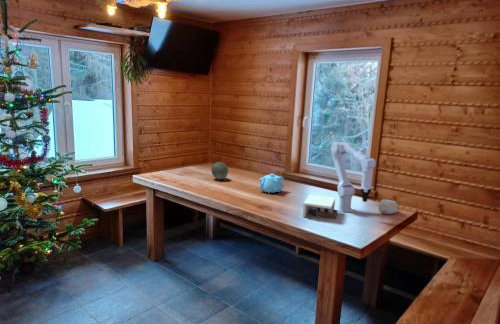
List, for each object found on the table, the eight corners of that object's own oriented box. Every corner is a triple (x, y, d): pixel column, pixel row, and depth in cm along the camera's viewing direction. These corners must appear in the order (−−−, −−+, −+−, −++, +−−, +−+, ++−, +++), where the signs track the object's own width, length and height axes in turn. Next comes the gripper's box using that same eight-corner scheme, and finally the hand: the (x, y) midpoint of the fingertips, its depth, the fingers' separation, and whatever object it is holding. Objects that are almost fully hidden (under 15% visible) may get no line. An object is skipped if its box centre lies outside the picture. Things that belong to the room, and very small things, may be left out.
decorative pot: (267, 187, 271) (268, 170, 268) (286, 191, 262) (287, 173, 259) (256, 191, 257) (257, 174, 255) (275, 195, 248) (276, 177, 246)
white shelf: (308, 207, 224) (309, 194, 222) (334, 211, 218) (335, 198, 217) (302, 217, 205) (303, 202, 203) (330, 221, 200) (331, 206, 198)
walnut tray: (317, 212, 216) (318, 202, 215) (337, 214, 212) (338, 205, 211) (315, 215, 208) (316, 206, 207) (335, 218, 204) (336, 209, 203)
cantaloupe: (229, 178, 296) (230, 161, 293) (224, 182, 282) (225, 164, 280) (214, 177, 299) (214, 160, 296) (208, 180, 285) (208, 162, 283)
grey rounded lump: (377, 214, 215) (378, 210, 229) (397, 216, 211) (397, 212, 224) (379, 199, 214) (380, 196, 228) (399, 202, 210) (398, 199, 224)
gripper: (374, 182, 195) (371, 205, 198) (374, 177, 209) (372, 199, 211) (360, 180, 198) (358, 203, 200) (362, 176, 211) (360, 197, 214)
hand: (364, 201), depth 206 cm, fingers closed
